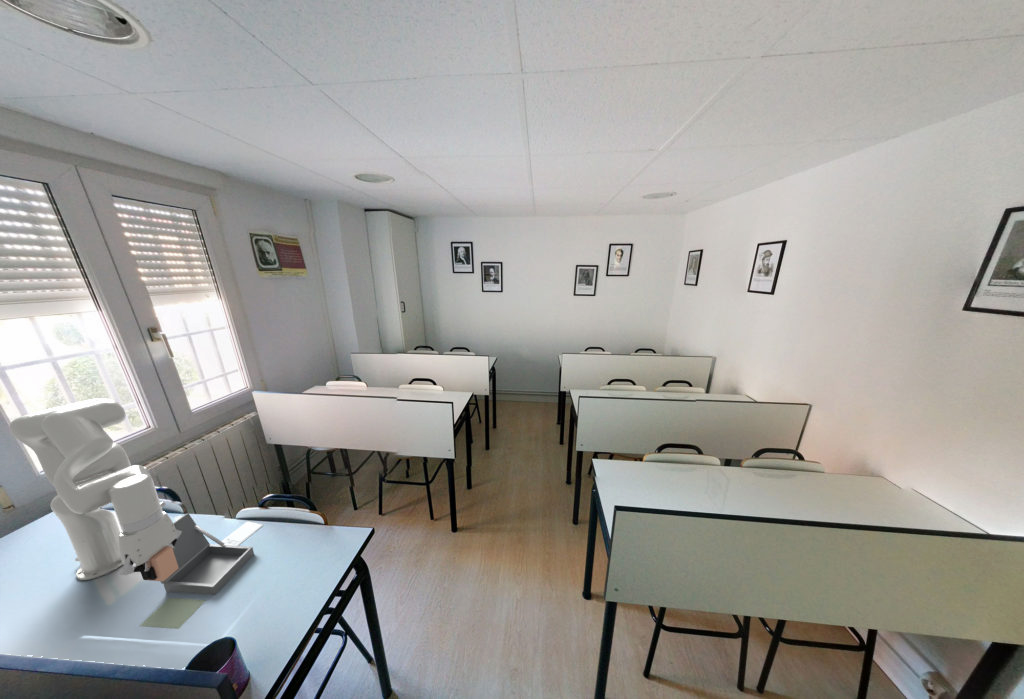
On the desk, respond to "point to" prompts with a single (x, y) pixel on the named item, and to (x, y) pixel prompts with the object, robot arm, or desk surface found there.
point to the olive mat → (173, 613)
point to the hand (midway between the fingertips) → (160, 570)
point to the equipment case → (203, 561)
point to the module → (164, 563)
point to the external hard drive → (241, 534)
